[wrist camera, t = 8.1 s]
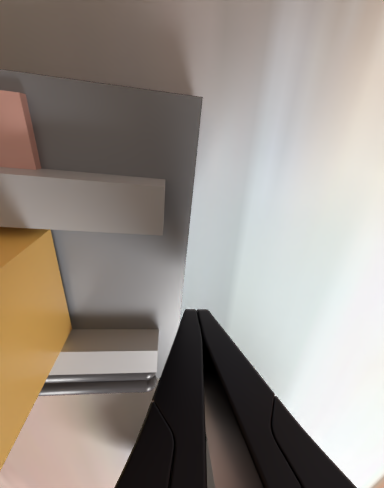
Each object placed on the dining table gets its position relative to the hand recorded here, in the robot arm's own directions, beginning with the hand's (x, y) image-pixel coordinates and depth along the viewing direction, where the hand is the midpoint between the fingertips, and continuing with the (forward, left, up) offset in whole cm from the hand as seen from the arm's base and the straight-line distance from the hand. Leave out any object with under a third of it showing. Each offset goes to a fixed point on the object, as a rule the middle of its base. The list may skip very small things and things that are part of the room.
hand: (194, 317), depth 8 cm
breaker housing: (-11, 0, -4) cm, 12 cm away
